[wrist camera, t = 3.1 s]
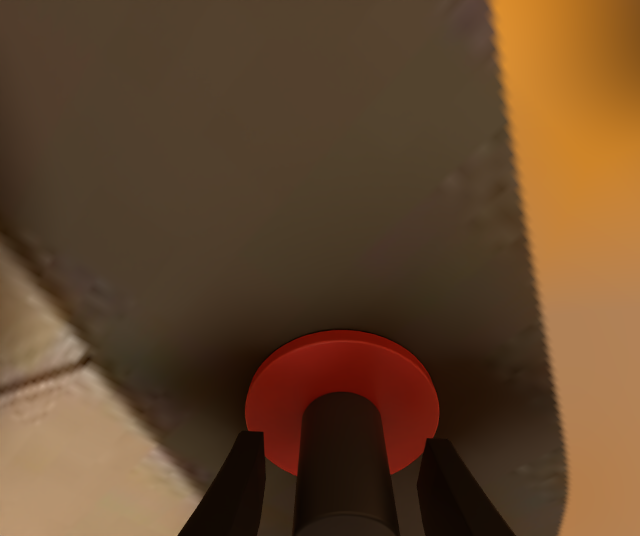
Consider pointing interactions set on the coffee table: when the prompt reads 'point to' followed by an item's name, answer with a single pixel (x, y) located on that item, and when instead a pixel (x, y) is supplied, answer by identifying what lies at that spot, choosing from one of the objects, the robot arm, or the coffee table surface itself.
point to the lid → (343, 426)
